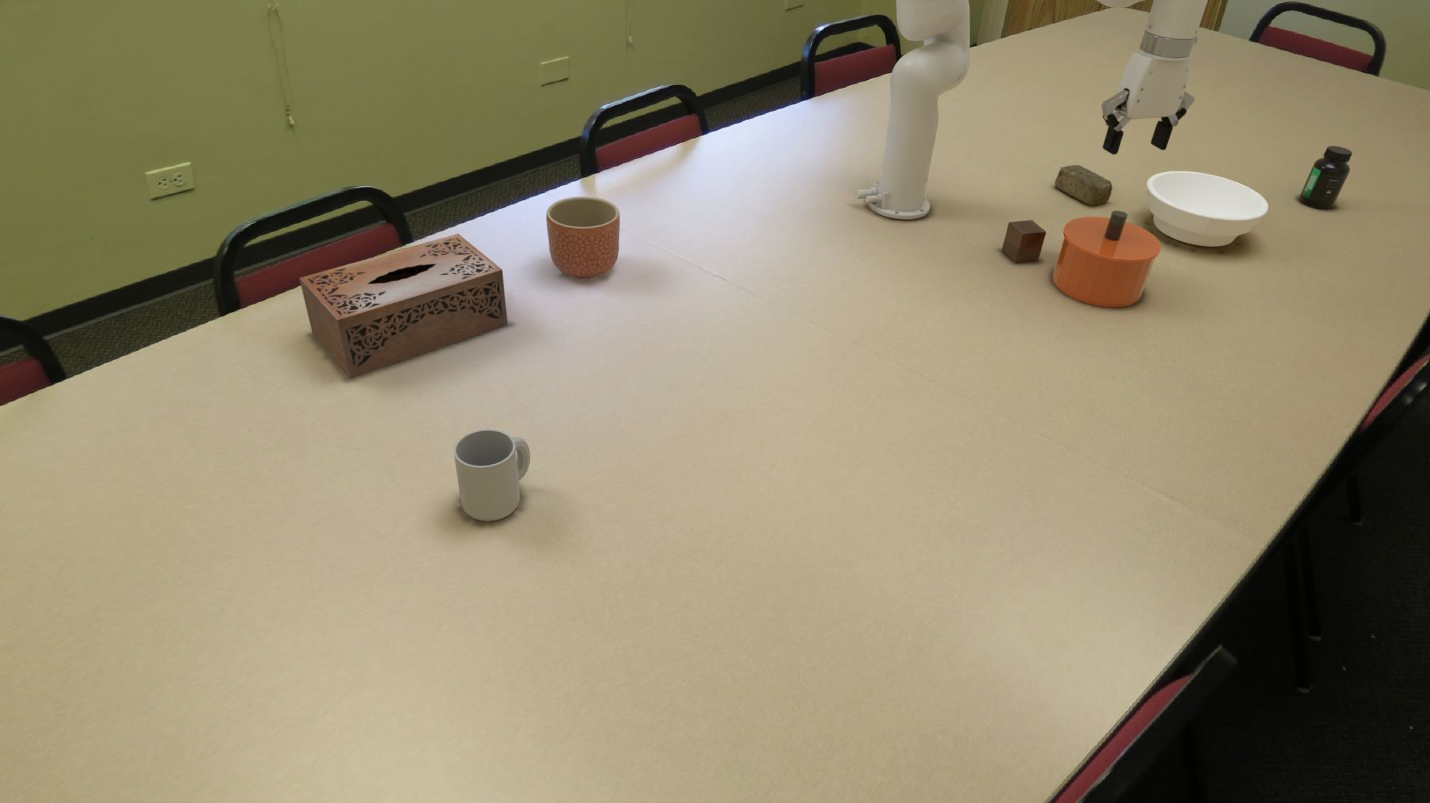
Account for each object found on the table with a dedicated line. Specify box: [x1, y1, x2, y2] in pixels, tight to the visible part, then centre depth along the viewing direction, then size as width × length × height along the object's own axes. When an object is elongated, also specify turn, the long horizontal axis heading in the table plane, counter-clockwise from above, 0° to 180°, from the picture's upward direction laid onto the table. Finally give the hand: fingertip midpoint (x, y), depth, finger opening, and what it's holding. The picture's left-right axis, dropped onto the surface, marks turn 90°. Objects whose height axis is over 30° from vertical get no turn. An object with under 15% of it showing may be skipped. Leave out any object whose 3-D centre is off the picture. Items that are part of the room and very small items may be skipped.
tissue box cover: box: [299, 233, 508, 379], centre depth 147 cm, size 26×14×10 cm, turn 129°
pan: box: [1052, 236, 1156, 308], centre depth 170 cm, size 15×15×9 cm
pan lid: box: [1062, 210, 1162, 263], centre depth 166 cm, size 16×16×6 cm
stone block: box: [1054, 164, 1113, 206], centre depth 203 cm, size 6×12×5 cm, turn 28°
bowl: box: [1146, 170, 1269, 247], centre depth 191 cm, size 22×22×8 cm
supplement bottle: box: [1298, 145, 1353, 210], centre depth 205 cm, size 7×7×12 cm
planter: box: [545, 196, 621, 279], centre depth 165 cm, size 12×12×11 cm
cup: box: [453, 428, 531, 522], centre depth 118 cm, size 7×10×9 cm
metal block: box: [1001, 219, 1047, 264], centre depth 179 cm, size 5×5×6 cm
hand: (1133, 149), depth 161 cm, fingers open, 9 cm apart
